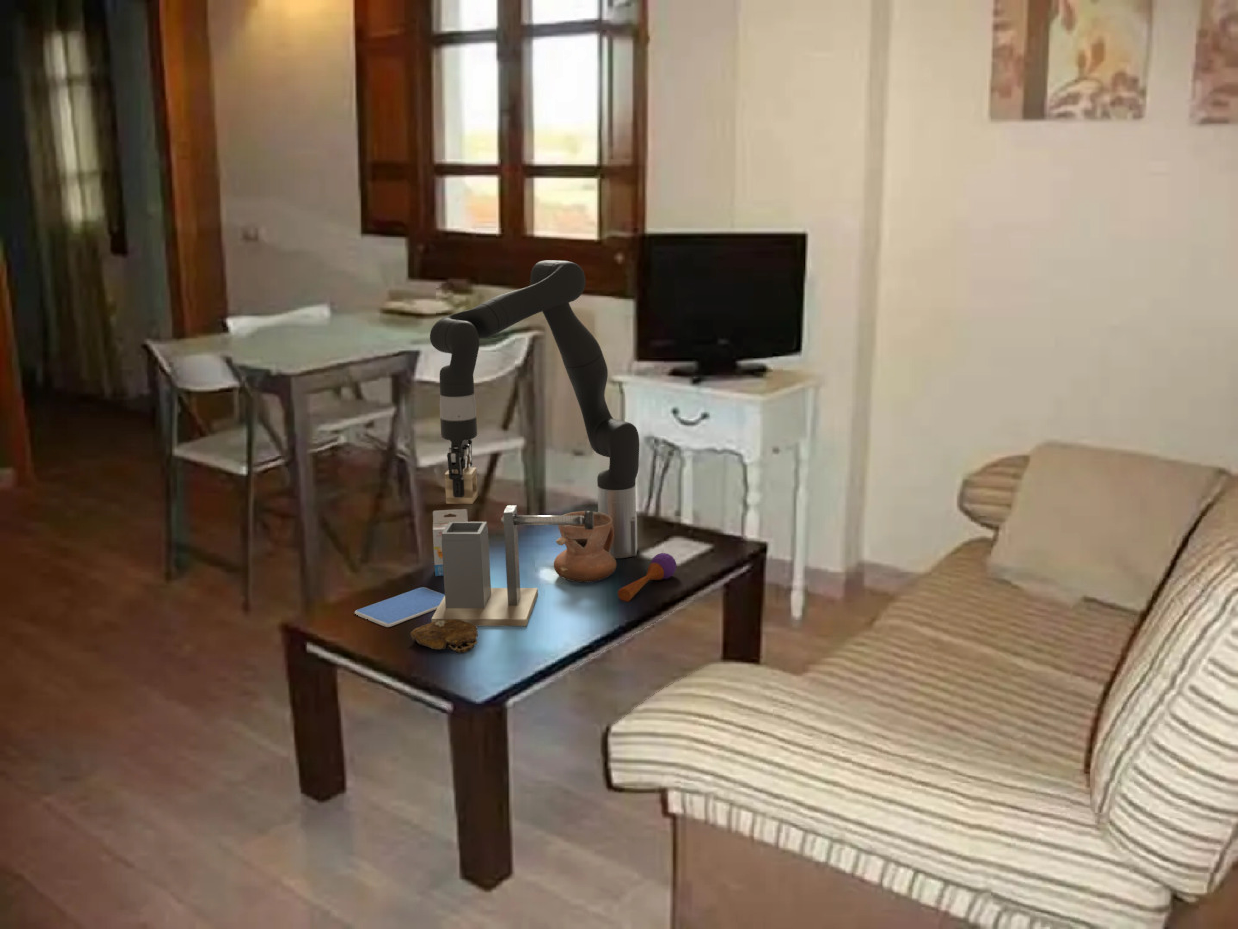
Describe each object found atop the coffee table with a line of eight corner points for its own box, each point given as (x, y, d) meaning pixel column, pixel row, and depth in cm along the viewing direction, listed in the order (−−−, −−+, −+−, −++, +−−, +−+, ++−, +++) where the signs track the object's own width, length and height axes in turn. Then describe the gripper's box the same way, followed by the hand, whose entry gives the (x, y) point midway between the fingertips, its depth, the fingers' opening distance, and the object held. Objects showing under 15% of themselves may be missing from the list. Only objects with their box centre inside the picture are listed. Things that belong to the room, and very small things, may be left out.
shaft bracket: (520, 597, 260) (516, 505, 255) (517, 605, 255) (512, 512, 250) (511, 597, 260) (507, 505, 255) (508, 605, 256) (503, 512, 250)
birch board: (537, 594, 266) (537, 588, 265) (526, 626, 248) (526, 619, 248) (449, 593, 267) (449, 587, 267) (431, 625, 250) (431, 618, 249)
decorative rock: (496, 643, 242) (441, 631, 250) (495, 624, 241) (440, 612, 249) (459, 660, 232) (403, 647, 241) (458, 640, 232) (402, 628, 240)
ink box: (435, 577, 278) (431, 516, 274) (435, 569, 283) (431, 510, 279) (471, 574, 279) (468, 514, 275) (471, 567, 284) (467, 508, 280)
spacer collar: (477, 496, 255) (476, 467, 254) (472, 503, 250) (471, 474, 248) (451, 496, 256) (450, 467, 254) (446, 503, 250) (444, 474, 249)
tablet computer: (423, 590, 271) (422, 585, 271) (459, 603, 263) (459, 598, 263) (352, 616, 257) (352, 610, 257) (388, 630, 249) (388, 625, 249)
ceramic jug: (581, 594, 265) (581, 533, 262) (537, 578, 275) (536, 520, 271) (635, 574, 278) (636, 516, 274) (591, 559, 288) (591, 503, 284)
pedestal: (491, 594, 262) (487, 521, 258) (484, 608, 254) (480, 533, 250) (453, 593, 263) (449, 521, 259) (445, 608, 255) (441, 533, 250)
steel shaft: (593, 526, 254) (593, 508, 253) (592, 532, 250) (591, 514, 249) (503, 526, 256) (502, 508, 255) (500, 532, 252) (499, 514, 251)
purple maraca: (610, 582, 262) (656, 549, 277) (616, 607, 263) (661, 573, 279) (632, 582, 258) (677, 549, 274) (638, 607, 259) (683, 573, 275)
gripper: (469, 422, 241) (472, 502, 245) (482, 408, 255) (485, 484, 259) (432, 422, 242) (437, 502, 246) (447, 407, 255) (451, 483, 260)
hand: (461, 492), depth 253 cm, fingers closed on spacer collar, 5 cm apart
